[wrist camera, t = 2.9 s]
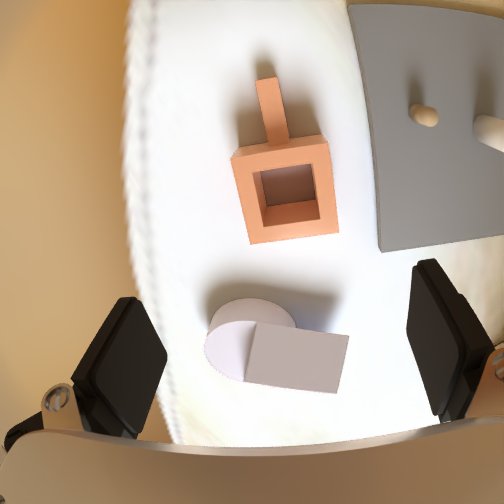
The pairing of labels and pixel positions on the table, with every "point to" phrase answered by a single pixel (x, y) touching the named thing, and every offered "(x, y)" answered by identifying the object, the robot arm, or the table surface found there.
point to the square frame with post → (278, 156)
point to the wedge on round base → (273, 348)
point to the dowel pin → (423, 115)
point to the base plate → (444, 132)
